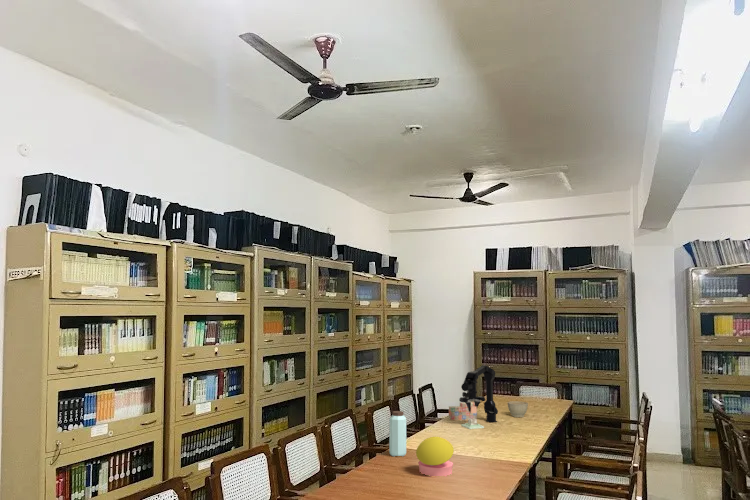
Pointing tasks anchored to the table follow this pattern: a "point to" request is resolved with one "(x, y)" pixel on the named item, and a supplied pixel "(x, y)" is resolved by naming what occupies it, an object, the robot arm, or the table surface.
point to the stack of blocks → (461, 412)
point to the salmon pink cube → (473, 409)
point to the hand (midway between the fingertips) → (472, 411)
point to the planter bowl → (517, 408)
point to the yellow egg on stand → (435, 456)
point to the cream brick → (472, 421)
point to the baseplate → (472, 426)
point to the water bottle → (397, 434)
